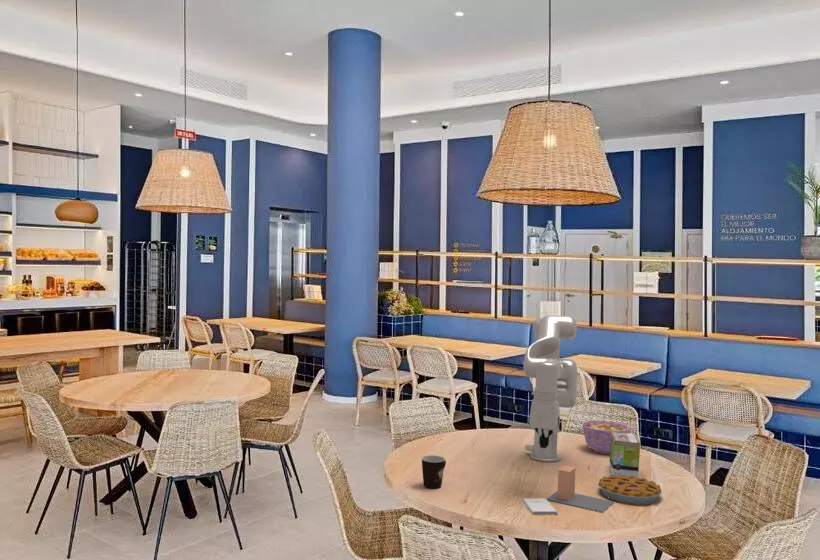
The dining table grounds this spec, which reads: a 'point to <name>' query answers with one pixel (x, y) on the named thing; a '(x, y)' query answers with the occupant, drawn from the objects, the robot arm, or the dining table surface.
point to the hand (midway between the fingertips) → (543, 447)
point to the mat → (583, 502)
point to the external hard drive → (539, 506)
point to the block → (566, 483)
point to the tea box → (624, 454)
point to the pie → (629, 489)
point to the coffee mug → (433, 471)
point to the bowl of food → (601, 434)
